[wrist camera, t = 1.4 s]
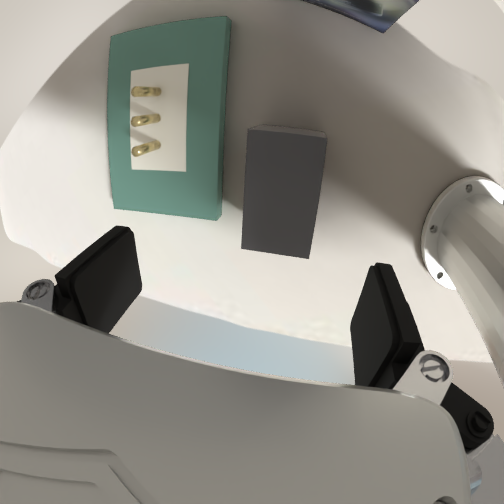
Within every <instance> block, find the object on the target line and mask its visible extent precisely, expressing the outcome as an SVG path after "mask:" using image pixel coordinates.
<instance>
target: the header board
mask: <svg viewBox="0 0 504 504" xmlns="http://www.w3.org/2000/svg"><path fill="white" fill-rule="evenodd" d="M230 31H231V20H230V19H229V18H228V17H227V16H220V17H207V18H198V19H190V20H183V21H176V22H170V23H164V24H159V25H154V26H149V27H145V28H140V29H136V30H132V31H128V32H124V33H121V34H117V35H114V36H111V42H110V53H109V67H108V92H107V124H108V150H109V165H110V177H111V187H112V197H113V205H114V209H121V210H131V211H140V212H149V213H158V214H166V215H175V216H183V217H191V218H199V219H207V220H215V221H217V220H218V219H219V217H220V216H221V215H222V176H223V148H224V125H225V105H226V87H227V71H228V57H229V43H230ZM135 86H145V87H159V88H160V89H161V94H160V95H159V96H150V97H133V96H132V95H131V90H132V88H133V87H135ZM149 114H159V115H160V117H161V120H160V121H159V122H158V123H154V124H148V125H143V126H138V127H133V126H132V125H131V119H132V117H134V116H141V115H149ZM155 140H158V141H159V142H160V143H161V147H160V148H159V149H158V150H155V151H152V152H149V153H146V154H143V155H141V156H138V157H134V156H133V155H132V152H131V151H132V148H133V147H135V146H138V145H141V144H145V143H148V142H152V141H155Z"/></svg>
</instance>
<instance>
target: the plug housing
mask: <svg viewBox="0 0 504 504" xmlns="http://www.w3.org/2000/svg"><path fill="white" fill-rule="evenodd" d="M326 145H327V137H326V135H325V134H324V132H321V131H314V130H307V129H299V128H291V127H282V126H271V125H260V126H257V127H253V128H250V129H248V136H247V153H246V170H245V187H244V205H243V224H242V244H241V249H247V250H253V251H260V252H266V253H273V254H279V255H286V256H293V257H299V258H306V259H309V255H310V250H311V244H312V238H313V233H314V227H315V221H316V215H317V209H318V202H319V196H320V189H321V182H322V175H323V168H324V161H325V153H326Z"/></svg>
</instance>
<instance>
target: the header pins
mask: <svg viewBox="0 0 504 504" xmlns="http://www.w3.org/2000/svg"><path fill="white" fill-rule="evenodd" d="M160 94H161V89H160V88H159V87H145V86H135V87H133V88H132V90H131V95H132V96H133V97H150V96H159V95H160ZM160 120H161V117H160V115H159V114H149V115H141V116H134V117H132V119H131V125H132V126H133V127H138V126H143V125H148V124H154V123H158V122H159V121H160ZM160 147H161V143H160V142H159V141H158V140H155V141H152V142H148V143H145V144H141V145H138V146H135V147H133V148H132V151H131V152H132V155H133V156H134V157H138V156H141V155H143V154H146V153H149V152H152V151H155V150H158V149H159V148H160Z"/></svg>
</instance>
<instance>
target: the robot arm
mask: <svg viewBox="0 0 504 504" xmlns="http://www.w3.org/2000/svg"><path fill="white" fill-rule="evenodd" d="M432 225H433V226H432ZM431 226H432V227H431ZM421 251H422V257H423V261H424V263H425V266H426V268H427V270H428V271H429V273H430V275H431V276H432V278H433V279H434V280H435V281H436V282H437V283H439V284H440V285H442V286H444V287H446V288H449V289H454V290H457V292H458V293H459V295H460V297H461V299H462V300H463V302H464V304H465V306H466V308H467V309H468V311H469V313H470V315H471V317H472V319H473V321H474V323H475V325H476V327H477V329H478V331H479V333H480V335H481V337H482V339H483V341H484V343H485V345H486V347H487V349H488V352H489V354H490V356H491V358H492V361H493V363H494V365H495V368H496V370H497V373H498V375H499V378H500V380H501V382H502V385H503V387H504V189H503V188H502V187H501V186H500V185H499V184H497V183H496V182H494V181H492V180H490V179H488V178H485V177H481V176H471V177H465V178H463V179H460V180H458V181H456V182H454V183H453V184H451V185H450V186H449V187H447V188H446V189H445V190H444V191H443V192H442V193H441V194H440V195H439V197H438V198H437V199H436V201H435V202H434V203H433V205H432V207H431V209H430V211H429V213H428V215H427V217H426V220H425V223H424V226H423V231H422V236H421ZM55 278H56V281H57V285H56V286H54V283H53V282H52V281H51V280H48V279H42V280H38V281H35V282H33V283H31V284H30V285H29V286H27V288H26V289H25V290H24V292H23V295H22V300H20V301H17V302H2V303H0V504H504V442H503V441H502V440H501V438H500V437H499V435H498V434H497V435H496V436H494V435H493V434H492V433H493V429H494V422H493V419H492V416H491V414H490V413H489V412H488V410H487V409H486V408H484V407H483V406H482V405H480V404H479V403H478V402H477V401H475V400H474V399H473V398H471V397H470V396H469V395H467V394H466V393H465V392H463V391H462V390H461V389H459V388H458V387H457V386H456V385H454V384H453V383H452V382H451V381H452V379H453V375H454V373H453V367H452V365H451V363H450V362H449V360H448V359H447V358H446V357H445V356H443V355H442V354H440V353H438V352H436V351H432V350H426V351H425V350H424V347H423V343H422V340H421V337H420V334H419V331H418V329H417V326H416V323H415V320H414V317H413V315H412V312H411V309H410V307H409V304H408V303H407V302H406V299H405V297H404V294H403V292H402V289H401V287H400V284H399V282H398V279H397V277H396V275H395V272H394V270H393V268H392V266H391V265H390V264H384V263H376V264H375V266H370V268H369V271H368V274H367V277H366V280H365V283H364V286H363V289H362V292H361V295H360V298H359V301H358V304H357V307H356V309H355V312H354V315H353V318H352V320H351V325H350V330H351V340H352V350H353V361H354V374H355V385H347V384H337V383H328V382H318V381H311V380H304V379H296V378H289V377H282V376H276V375H270V374H263V373H258V372H252V371H247V370H242V369H237V368H232V367H227V366H222V365H218V364H213V363H209V362H205V361H200V360H196V359H192V358H188V357H184V356H181V355H177V354H173V353H169V352H166V351H162V350H158V349H155V348H152V347H148V346H145V345H142V344H139V343H135V342H132V341H129V340H126V339H123V338H120V337H117V336H114V335H111V334H109V332H110V331H111V330H112V328H113V327H114V326H115V324H116V323H117V322H118V320H119V319H120V318H121V317H122V315H123V314H124V313H125V311H126V310H127V309H128V307H129V306H130V305H131V303H132V302H133V301H134V300H135V299H136V297H137V296H138V295H139V293H140V292H141V290H142V281H141V276H140V270H139V264H138V258H137V252H136V245H135V238H134V233H133V232H132V231H131V229H130V228H129V227H125V226H115V227H114V228H112V229H111V230H110V231H108V232H107V233H106V234H104V235H103V236H102V237H100V238H99V239H98V240H97V241H95V242H94V243H93V244H92V245H90V246H89V247H88V248H87V249H85V250H84V251H83V252H82V253H81V254H79V255H78V256H77V257H76V258H74V259H73V260H72V261H71V262H70V263H69V264H67V265H66V266H65V267H64V268H63V269H62V270H60V271H59V272H58V273H57V274H56V275H55Z"/></svg>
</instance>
